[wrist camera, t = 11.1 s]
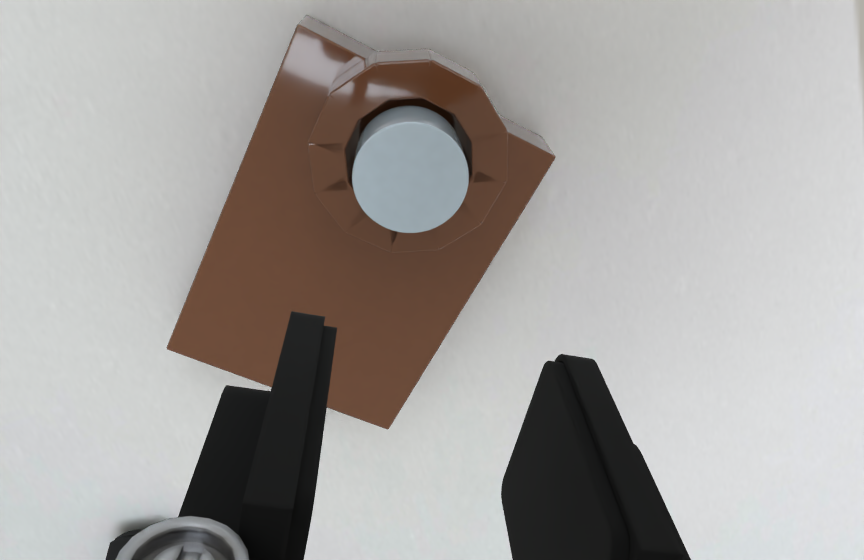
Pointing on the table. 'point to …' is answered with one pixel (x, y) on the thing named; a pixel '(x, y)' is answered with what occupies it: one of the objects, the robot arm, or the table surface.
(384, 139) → the pale blue short cylinder
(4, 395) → the table surface
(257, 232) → the brown mounting plate
